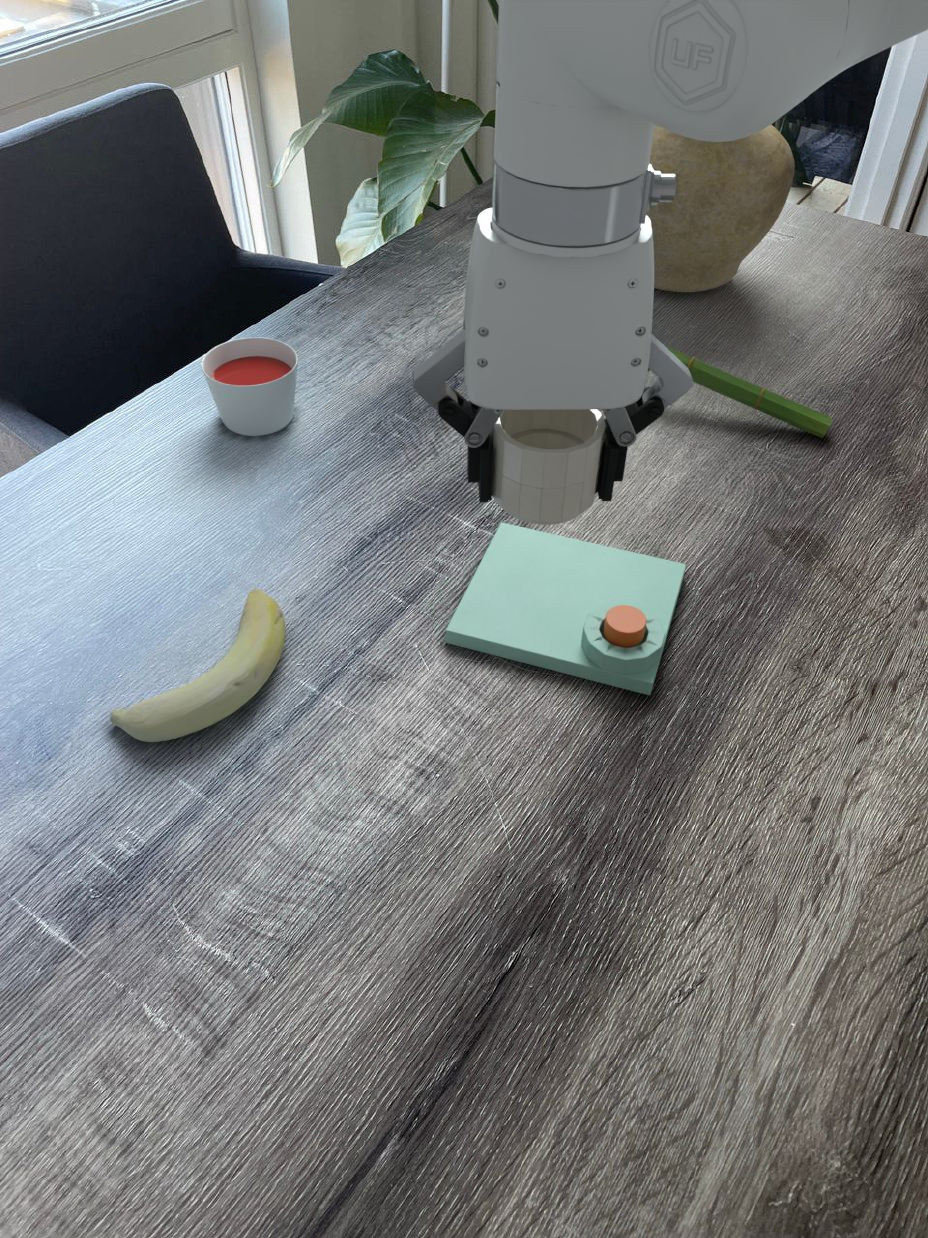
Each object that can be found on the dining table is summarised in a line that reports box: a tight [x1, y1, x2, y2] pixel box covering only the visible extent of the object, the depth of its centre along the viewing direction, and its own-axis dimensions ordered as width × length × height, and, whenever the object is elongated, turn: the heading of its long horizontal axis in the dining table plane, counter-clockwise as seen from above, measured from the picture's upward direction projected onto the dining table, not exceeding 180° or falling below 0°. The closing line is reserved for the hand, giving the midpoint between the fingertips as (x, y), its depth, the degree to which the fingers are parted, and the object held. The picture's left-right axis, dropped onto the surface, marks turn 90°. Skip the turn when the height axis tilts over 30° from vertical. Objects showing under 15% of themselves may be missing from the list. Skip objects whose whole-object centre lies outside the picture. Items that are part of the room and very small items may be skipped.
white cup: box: [491, 409, 606, 526], centre depth 60 cm, size 7×7×6 cm
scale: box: [445, 522, 687, 696], centre depth 79 cm, size 16×14×3 cm
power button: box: [603, 605, 647, 648], centre depth 74 cm, size 3×3×2 cm
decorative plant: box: [648, 344, 834, 439], centre depth 101 cm, size 6×8×30 cm
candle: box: [200, 336, 299, 437], centre depth 97 cm, size 9×9×6 cm
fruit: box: [109, 588, 287, 743], centre depth 72 cm, size 7×15×3 cm, turn 145°
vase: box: [646, 124, 796, 293], centre depth 112 cm, size 22×22×30 cm
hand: (543, 486), depth 62 cm, fingers closed on white cup, 6 cm apart
